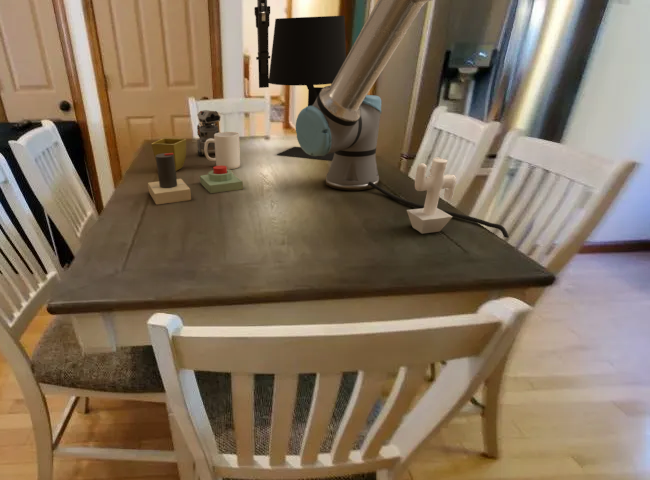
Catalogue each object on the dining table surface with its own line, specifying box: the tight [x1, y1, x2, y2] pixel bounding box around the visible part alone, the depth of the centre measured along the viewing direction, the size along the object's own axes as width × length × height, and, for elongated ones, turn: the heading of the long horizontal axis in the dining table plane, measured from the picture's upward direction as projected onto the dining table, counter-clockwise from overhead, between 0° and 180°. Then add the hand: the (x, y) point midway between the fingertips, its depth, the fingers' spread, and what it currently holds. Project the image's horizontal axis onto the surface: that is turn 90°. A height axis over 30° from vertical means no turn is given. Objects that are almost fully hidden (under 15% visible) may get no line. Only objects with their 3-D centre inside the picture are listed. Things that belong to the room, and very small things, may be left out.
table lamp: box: [269, 15, 347, 162], centre depth 155 cm, size 26×28×40 cm
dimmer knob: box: [154, 153, 178, 188], centre depth 129 cm, size 5×5×8 cm
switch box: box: [199, 169, 244, 194], centre depth 139 cm, size 12×10×4 cm
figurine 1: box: [196, 109, 221, 157], centre depth 169 cm, size 9×12×15 cm
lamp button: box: [212, 165, 228, 174], centre depth 138 cm, size 4×4×2 cm
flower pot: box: [150, 137, 187, 172], centre depth 156 cm, size 9×9×9 cm
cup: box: [203, 131, 241, 170], centre depth 156 cm, size 8×12×10 cm
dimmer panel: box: [147, 178, 192, 206], centre depth 133 cm, size 12×10×3 cm
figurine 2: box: [406, 157, 457, 235], centre depth 102 cm, size 7×9×15 cm
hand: (263, 87), depth 130 cm, fingers closed
